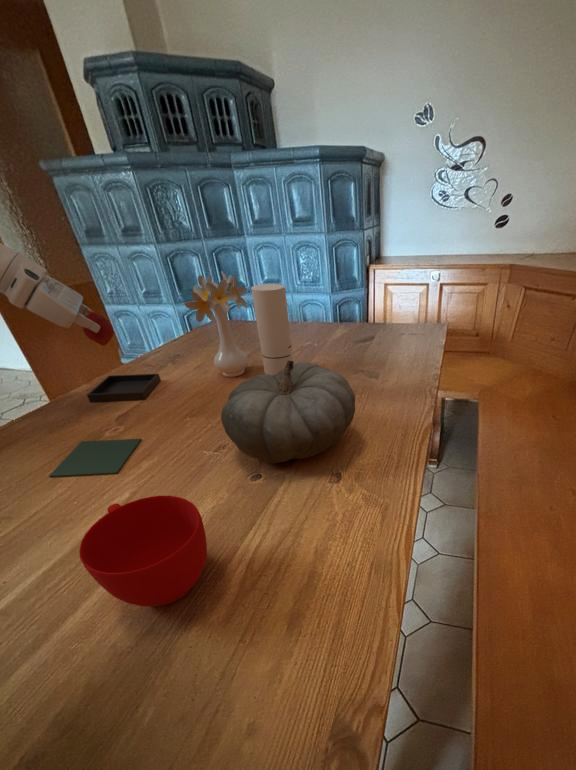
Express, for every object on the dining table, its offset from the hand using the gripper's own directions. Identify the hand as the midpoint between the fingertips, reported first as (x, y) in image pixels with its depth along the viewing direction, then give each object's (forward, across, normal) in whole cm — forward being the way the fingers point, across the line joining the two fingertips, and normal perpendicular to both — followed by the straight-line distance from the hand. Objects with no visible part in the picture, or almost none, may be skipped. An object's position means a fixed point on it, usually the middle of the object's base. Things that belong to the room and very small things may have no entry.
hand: (99, 325), depth 88 cm
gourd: (+33, +43, +10) cm, 55 cm away
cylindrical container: (+37, +19, +13) cm, 44 cm away
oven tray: (+12, -2, -12) cm, 17 cm away
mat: (+8, +30, -16) cm, 35 cm away
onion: (+3, 0, -4) cm, 5 cm away
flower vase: (+32, -1, +7) cm, 32 cm away
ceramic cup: (+15, +67, -9) cm, 69 cm away
